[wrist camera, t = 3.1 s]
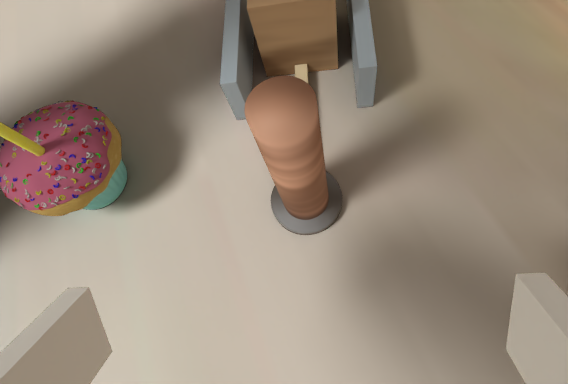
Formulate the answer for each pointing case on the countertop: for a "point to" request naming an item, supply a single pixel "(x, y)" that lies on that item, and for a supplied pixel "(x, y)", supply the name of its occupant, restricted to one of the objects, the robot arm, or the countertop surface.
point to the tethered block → (294, 109)
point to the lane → (240, 54)
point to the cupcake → (62, 160)
